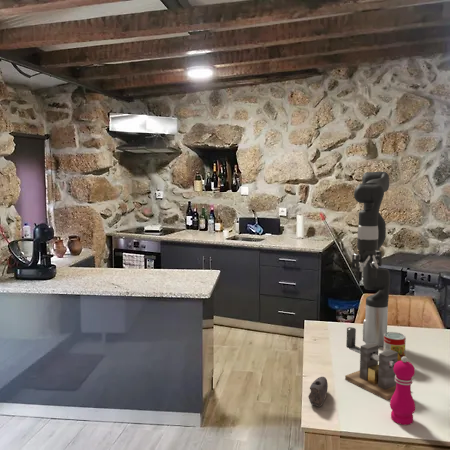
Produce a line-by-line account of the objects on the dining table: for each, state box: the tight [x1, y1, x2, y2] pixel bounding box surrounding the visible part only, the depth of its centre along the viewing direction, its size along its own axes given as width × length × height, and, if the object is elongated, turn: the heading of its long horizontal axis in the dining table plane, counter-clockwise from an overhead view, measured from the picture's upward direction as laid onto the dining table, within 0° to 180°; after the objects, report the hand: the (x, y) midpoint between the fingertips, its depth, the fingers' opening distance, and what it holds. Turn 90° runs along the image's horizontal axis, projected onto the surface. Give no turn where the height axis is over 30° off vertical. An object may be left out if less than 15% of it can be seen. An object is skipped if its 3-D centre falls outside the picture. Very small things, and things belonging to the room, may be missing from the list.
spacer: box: [368, 363, 379, 384], centre depth 161 cm, size 3×5×5 cm, turn 123°
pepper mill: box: [389, 355, 416, 426], centre depth 137 cm, size 7×7×20 cm
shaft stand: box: [344, 343, 398, 401], centre depth 160 cm, size 18×12×13 cm, turn 33°
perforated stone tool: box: [307, 376, 329, 408], centre depth 151 cm, size 15×5×7 cm, turn 155°
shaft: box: [345, 326, 394, 367], centre depth 163 cm, size 20×3×8 cm, turn 33°
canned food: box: [383, 331, 407, 362], centre depth 176 cm, size 8×8×12 cm
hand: (366, 279), depth 174 cm, fingers open, 8 cm apart
